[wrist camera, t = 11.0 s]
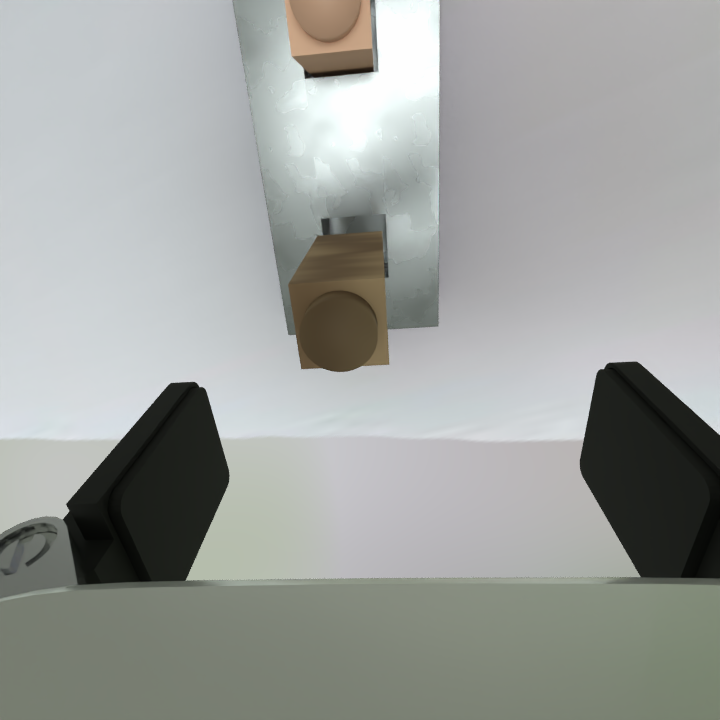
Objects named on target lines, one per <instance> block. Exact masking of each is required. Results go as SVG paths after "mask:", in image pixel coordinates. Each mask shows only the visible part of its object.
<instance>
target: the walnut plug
mask: <svg viewBox="0 0 720 720" xmlns="http://www.w3.org/2000/svg"><path fill="white" fill-rule="evenodd" d="M288 288H289V294H290V300H291V306H292V313H293V319H294V325H295V332H296V338H297V344H298V351H299V357H300V363H301V369H313V368H323V369H326V370H330V371H335V372H345V371H350V370H354V369H356V368H358V367H360V366H370V365H389V352H388V332H387V312H386V292H385V273H384V255H383V236H382V231H375V232H361V233H348V234H334V235H320V236H317V238H316V239H315V241H314V243H313V244H312V246H311V247H310V249H309V251H308V252H307V254H306V256H305V257H304V259H303V261H302V262H301V264H300V266H299V267H298V269H297V270H296V272H295V274H294V275H293V277H292V279H291V280H290V282H289V284H288Z"/></svg>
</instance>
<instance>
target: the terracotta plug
mask: <svg viewBox="0 0 720 720" xmlns="http://www.w3.org/2000/svg"><path fill="white" fill-rule="evenodd" d="M285 8H286V16H287V24H288V32H289V41H290V49H291V57H293V58H294V59H295V60H296V61H297V62H298V63H299V64H300V65H301V66H302V67H303V68H304V69H305V70H306V71H307V72H309V73H310V74H311V75H312V76H313V77H314V78H320V77H331V76H341V75H351V74H361V73H371V72H374V66H373V48H372V29H371V10H370V0H285Z"/></svg>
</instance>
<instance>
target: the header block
mask: <svg viewBox="0 0 720 720" xmlns="http://www.w3.org/2000/svg"><path fill="white" fill-rule="evenodd" d="M233 6H234V12H235V18H236V24H237V30H238V36H239V42H240V48H241V54H242V60H243V66H244V72H245V78H246V84H247V90H248V96H249V102H250V108H251V114H252V120H253V126H254V132H255V138H256V144H257V150H258V156H259V162H260V168H261V174H262V180H263V186H264V192H265V198H266V204H267V209H268V215H269V221H270V227H271V233H272V239H273V245H274V251H275V257H276V263H277V269H278V275H279V281H280V287H281V293H282V299H283V305H284V311H285V317H286V323H287V329H288V335H296V332H295V325H294V319H293V313H292V306H291V300H290V294H289V288H288V284H289V282H290V280H291V279H292V277H293V275H294V274H295V272H296V270H297V269H298V267H299V266H300V264H301V262H302V261H303V259H304V257H305V256H306V254H307V252H308V251H309V249H310V247H311V246H312V244H313V243H314V241H315V239H316V238H317V236H320V235H334V234H348V233H361V232H375V231H382V236H383V255H384V273H385V292H386V312H387V329H401V328H419V327H436V326H438V279H439V11H440V0H370V10H371V29H372V48H373V66H374V72H371V73H361V74H351V75H341V76H331V77H320V78H314V77H313V76H312V75H311V74H310V73H309V72H307V71H306V70H305V69H304V68H303V67H302V66H301V65H300V64H299V63H298V62H297V61H296V60H295V59H294V58H293V57H291V49H290V41H289V32H288V24H287V16H286V8H285V0H233Z"/></svg>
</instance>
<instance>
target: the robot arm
mask: <svg viewBox="0 0 720 720" xmlns="http://www.w3.org/2000/svg"><path fill="white" fill-rule="evenodd" d="M580 470H581V473H582V476H583V478H584V480H585V481H586V483H587V485H588V487H589V488H590V490H591V492H592V493H593V495H594V497H595V499H596V500H597V502H598V504H599V506H600V507H601V509H602V511H603V512H604V514H605V516H606V517H607V519H608V521H609V523H610V524H611V526H612V528H613V530H614V531H615V533H616V535H617V537H618V538H619V540H620V542H621V544H622V545H623V547H624V549H625V550H626V552H627V554H628V555H629V557H630V559H631V560H632V563H633V564H634V566H635V568H636V569H637V571H638V573H639V575H640V576H641V577H567V578H566V577H559V578H558V577H557V578H556V577H555V578H554V577H542V578H541V577H540V578H539V577H538V578H537V577H533V578H530V577H526V578H525V577H524V578H523V577H519V578H518V577H516V578H515V577H514V578H360V579H359V578H358V579H357V578H355V579H270V580H269V579H267V580H197V581H194V580H193V581H185V580H186V578H187V576H188V574H189V571H190V569H191V567H192V565H193V563H194V560H195V558H196V556H197V553H198V551H199V549H200V547H201V544H202V542H203V540H204V538H205V535H206V533H207V531H208V529H209V527H210V524H211V522H212V520H213V518H214V515H215V513H216V511H217V509H218V506H219V504H220V502H221V500H222V497H223V495H224V493H225V491H226V488H227V486H228V483H229V469H228V466H227V462H226V459H225V455H224V452H223V448H222V445H221V441H220V438H219V434H218V431H217V427H216V424H215V420H214V417H213V413H212V410H211V406H210V403H209V399H208V396H207V392H206V390H205V389H204V388H203V387H199V386H198V384H197V383H195V382H182V383H171V384H169V385H168V386H167V387H166V389H165V390H164V391H163V392H162V393H161V394H160V396H159V397H158V398H157V399H156V400H155V401H154V403H153V404H152V405H151V406H150V407H149V408H148V410H147V411H146V412H145V413H144V414H143V415H142V417H141V418H140V419H139V420H138V421H137V422H136V424H135V425H134V426H133V427H132V428H131V429H130V431H129V432H128V433H127V434H126V435H125V436H124V437H123V439H122V440H121V441H120V442H119V443H118V444H117V446H116V447H115V448H114V449H113V450H112V451H111V453H110V454H109V455H108V456H107V458H105V460H104V461H103V462H102V463H101V464H100V465H99V467H98V468H97V469H96V470H95V471H94V472H93V474H92V475H91V476H90V477H89V478H88V479H87V481H86V482H85V483H84V484H83V485H82V486H81V487H80V489H79V490H78V491H77V492H76V493H75V494H74V496H73V497H72V498H71V499H70V500H69V501H68V503H67V504H66V505H67V507H68V509H69V513H68V514H67V515H66V516H65V517H64V519H63V520H62V519H59V518H57V517H40V518H35V519H31V520H28V521H26V522H23V523H20V524H18V525H16V526H14V527H12V528H10V529H8V530H6V531H5V532H3V533H2V534H0V720H720V435H719V434H718V433H717V432H716V431H714V430H713V429H712V428H711V427H710V426H709V425H708V424H707V423H706V422H704V421H703V420H702V419H701V418H700V417H699V416H698V415H697V414H695V413H694V412H693V411H692V410H691V409H690V408H689V407H688V406H687V405H685V404H684V403H683V402H682V401H681V400H680V399H679V398H678V397H677V396H675V395H674V394H673V393H672V392H671V391H670V390H669V389H668V388H667V387H665V386H664V385H663V384H662V383H661V382H660V381H659V380H658V379H657V378H655V377H654V376H653V375H652V374H651V373H650V372H649V371H648V370H646V369H645V368H644V367H643V366H642V365H641V364H640V363H638V362H617V363H608V364H607V365H606V366H605V368H604V369H600V370H599V371H598V373H597V375H596V380H595V385H594V390H593V396H592V401H591V406H590V411H589V416H588V421H587V427H586V432H585V437H584V442H583V447H582V452H581V458H580Z"/></svg>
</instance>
